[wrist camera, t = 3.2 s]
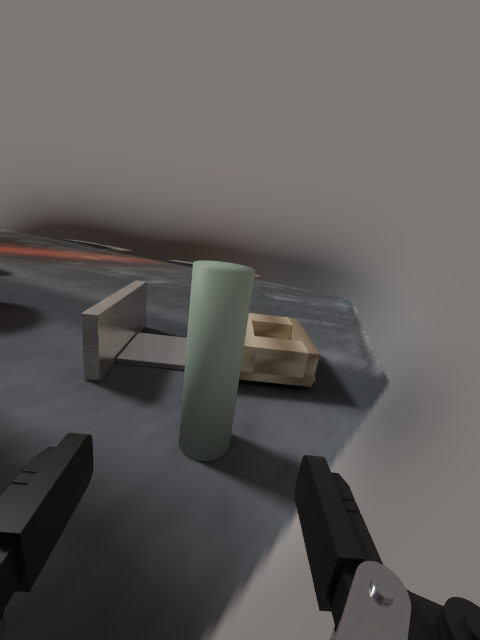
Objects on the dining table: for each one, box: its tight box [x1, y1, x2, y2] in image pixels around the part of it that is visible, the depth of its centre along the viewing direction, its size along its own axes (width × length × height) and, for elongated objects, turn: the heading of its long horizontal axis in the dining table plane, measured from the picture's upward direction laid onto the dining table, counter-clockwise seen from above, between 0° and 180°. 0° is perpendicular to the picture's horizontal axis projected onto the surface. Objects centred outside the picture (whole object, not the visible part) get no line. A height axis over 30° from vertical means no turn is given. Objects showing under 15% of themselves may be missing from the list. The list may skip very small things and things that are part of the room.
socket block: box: [239, 313, 320, 387], centre depth 37 cm, size 14×12×4 cm
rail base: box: [81, 280, 316, 384], centre depth 36 cm, size 25×16×7 cm, turn 91°
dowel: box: [179, 261, 255, 461], centre depth 21 cm, size 4×4×14 cm
